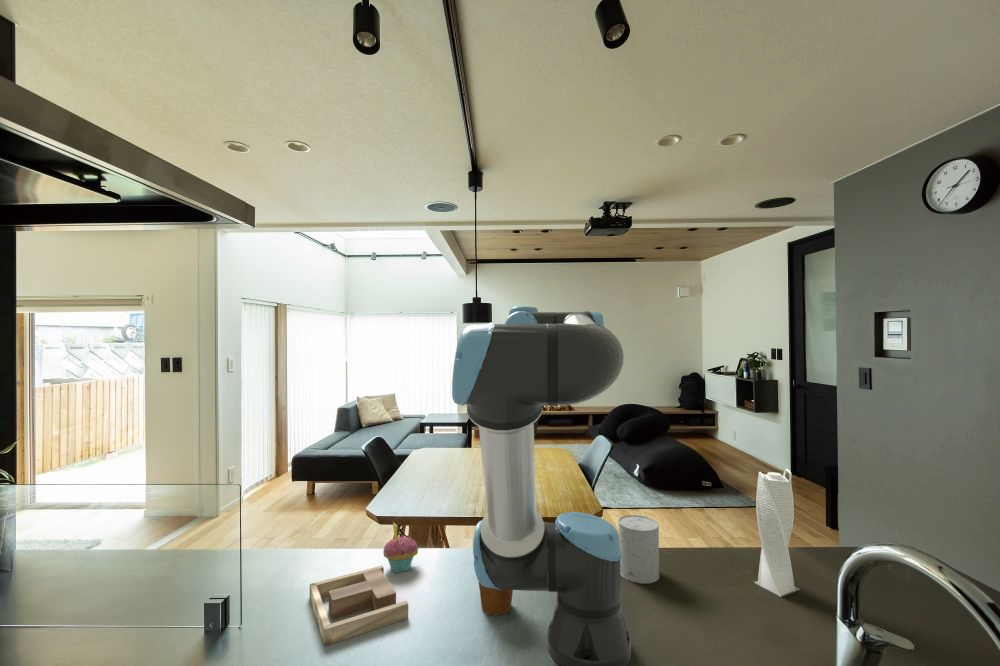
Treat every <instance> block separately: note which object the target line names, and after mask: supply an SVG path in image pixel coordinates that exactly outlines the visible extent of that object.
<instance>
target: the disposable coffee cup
mask: <svg viewBox="0 0 1000 666" xmlns="http://www.w3.org/2000/svg"><path fill="white" fill-rule="evenodd" d="M478 587H479V595H480V602H481V603H480V604H481V610H482V611H483V612H484V613H485V614H488V615H493V616H502V615H504V614H507V613H508V612H509V611H510V610H511V609H512V601H513V593H514V590H498V589H495V588H487V587H484V586H482V585H481V584H480V583H479V582H478Z"/></svg>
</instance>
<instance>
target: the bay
mask: <svg viewBox="0 0 1000 666" xmlns="http://www.w3.org/2000/svg"><path fill="white" fill-rule="evenodd" d="M379 568H380V569H381V571H382V572H383V574H384V575H385V573H384V572H385V569H384V568H385V567H384V566H383V565H378V566H374V567H371V568H367V569H363V570H359V571H355V572H352V573H348V574H343V575H341V576H340V575H339V576H335V577H332V578H328V579H324V580H321V581H317V582H313V583H310V584H309V600H310V603H311V607H312V610H313V613H314V616H315V618H316V623H317V626H318V628H319V633H320V635H321V639H322V641H323V645H324V647H325V646H329V645H331V644H334V643H338V642H341V641H344V640H347V639H350V638H352V637H353V638H354V637H356V636H359V635H362V634H365V633H368V632H371V631H374V630H377V629H380V628H383V627H386V626H390V625H392V624H394V623H395V624H396V623H399V622H402V621H405V620H407V619H409V602H408V601H407V600H404V601H401V602H396V604H394V605H390V606H387V607H384V608H381V609H377V610H374V611H373V610H372V611H369V612H368V611H367V612H365V613H361V614H358V615H355V616H353V617H349V618H345V619H341V620H339V621H336V622H332V623H331V622H330V619H329V617H328V614H327V611H326V608H325V606H324V603H323V599H322V598H324V597H329V591H331V590H335V589H338V588H342V587H346V586H349V585H353V584H357V583H361V582H362V573H364V572H368V571H372V570H375V569H379Z"/></svg>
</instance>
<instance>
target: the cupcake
mask: <svg viewBox="0 0 1000 666" xmlns="http://www.w3.org/2000/svg"><path fill="white" fill-rule="evenodd" d="M392 527H393V534H394V535H393V536H394V538H392V539H390V540H388V542H387V543H386V544H385V545H384V547H383V557H384V558H386V559H387V562H388V563H389V564H388V565H389V566H390V570H391V571H393V572H395V573H404V572H406V571H408V570H409V569H410V568H411V566H412V562H413V559H414V557H415V556H417V555H418V553H419V546H418V543H417V541H415V539H413V538H411V537H409V536H398V532H397V526H396V523H395V521H394V520H393V521H392Z"/></svg>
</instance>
